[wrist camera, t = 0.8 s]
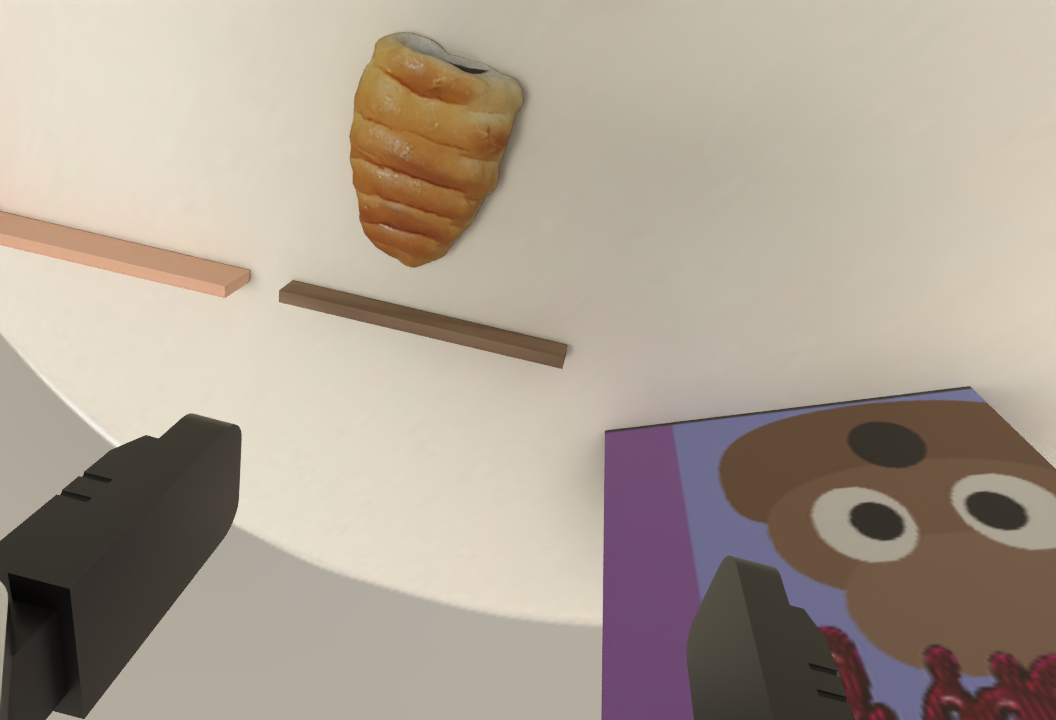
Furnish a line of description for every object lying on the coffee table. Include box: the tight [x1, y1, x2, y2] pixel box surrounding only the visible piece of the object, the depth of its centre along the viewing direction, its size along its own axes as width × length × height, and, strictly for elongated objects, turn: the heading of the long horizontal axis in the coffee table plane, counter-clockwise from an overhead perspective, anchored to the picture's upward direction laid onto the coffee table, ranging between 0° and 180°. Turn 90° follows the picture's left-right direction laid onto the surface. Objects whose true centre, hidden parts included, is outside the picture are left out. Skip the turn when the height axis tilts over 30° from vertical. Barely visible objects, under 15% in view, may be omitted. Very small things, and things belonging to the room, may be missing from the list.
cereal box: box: [602, 386, 1056, 720], centre depth 24 cm, size 17×5×24 cm, turn 102°
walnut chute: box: [279, 281, 567, 369], centre depth 29 cm, size 17×14×2 cm
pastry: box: [350, 32, 523, 267], centre depth 28 cm, size 9×7×4 cm
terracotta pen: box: [0, 212, 250, 298], centre depth 29 cm, size 17×14×2 cm
